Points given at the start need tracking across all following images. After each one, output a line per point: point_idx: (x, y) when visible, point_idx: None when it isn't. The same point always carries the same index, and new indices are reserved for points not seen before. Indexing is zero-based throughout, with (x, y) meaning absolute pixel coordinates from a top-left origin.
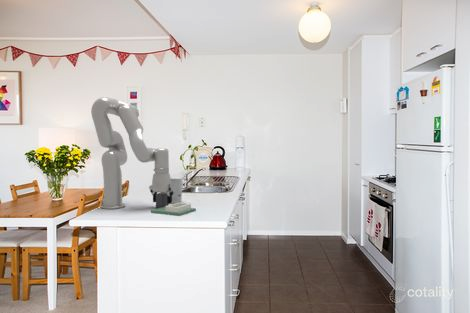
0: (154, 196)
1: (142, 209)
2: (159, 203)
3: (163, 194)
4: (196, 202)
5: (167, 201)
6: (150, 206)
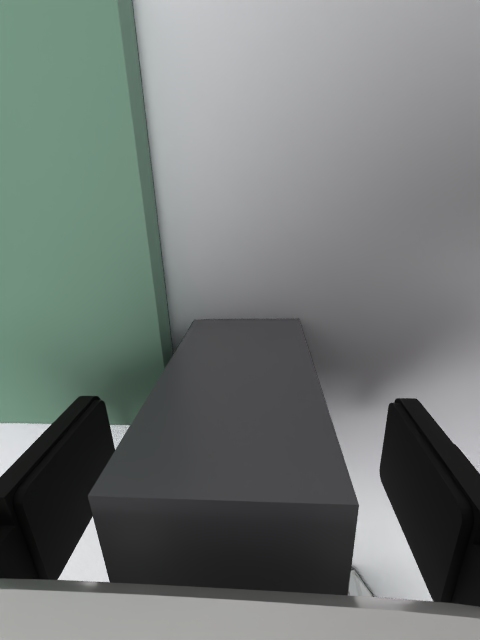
0: (443, 497)
1: (459, 158)
2: (225, 351)
3: (112, 546)
4: None
5: (76, 413)
6: (464, 396)
